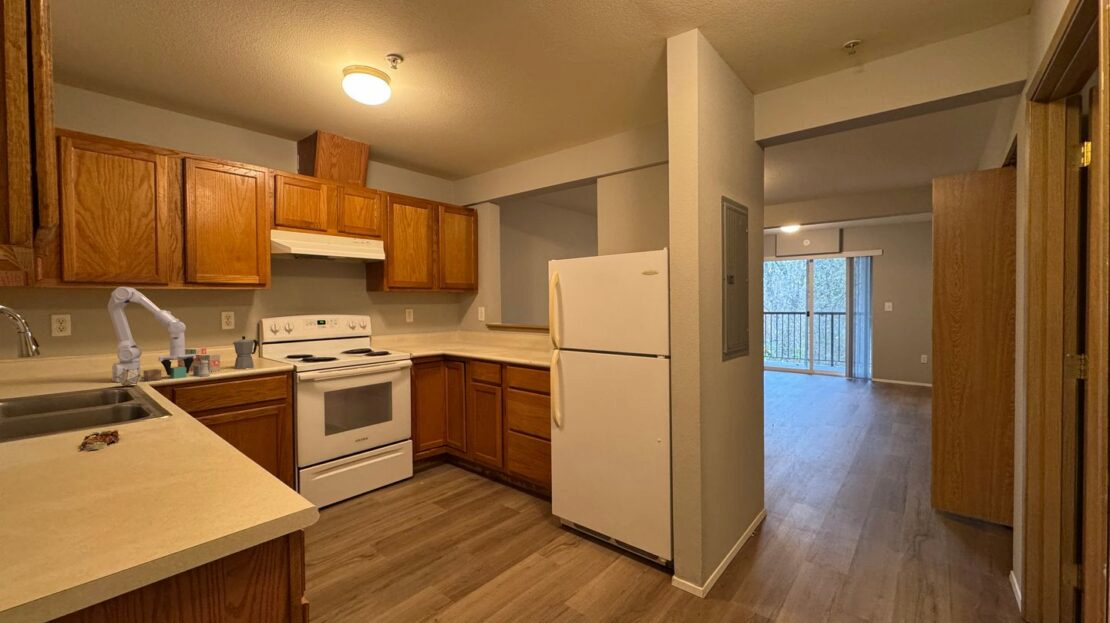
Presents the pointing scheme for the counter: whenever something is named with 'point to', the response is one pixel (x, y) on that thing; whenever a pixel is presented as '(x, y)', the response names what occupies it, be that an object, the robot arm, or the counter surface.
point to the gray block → (198, 369)
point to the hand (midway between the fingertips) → (177, 374)
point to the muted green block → (178, 372)
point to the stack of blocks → (201, 358)
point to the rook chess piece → (204, 369)
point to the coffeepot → (244, 353)
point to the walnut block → (152, 375)
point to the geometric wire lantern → (130, 377)
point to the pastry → (99, 440)
